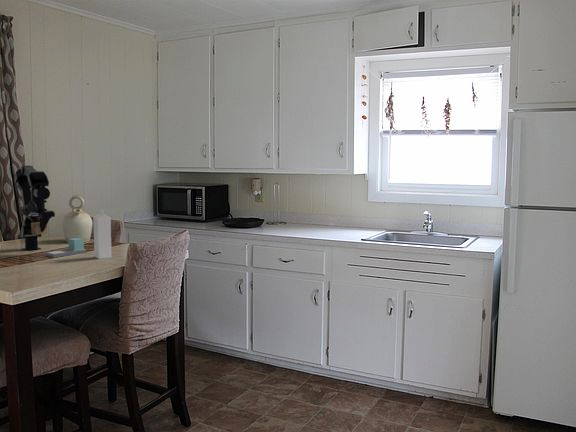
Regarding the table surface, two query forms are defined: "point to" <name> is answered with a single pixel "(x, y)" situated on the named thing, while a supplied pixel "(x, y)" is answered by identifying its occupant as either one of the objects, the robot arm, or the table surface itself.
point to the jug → (77, 223)
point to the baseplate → (65, 253)
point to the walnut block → (37, 228)
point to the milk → (102, 235)
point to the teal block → (76, 244)
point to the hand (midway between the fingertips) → (39, 231)
